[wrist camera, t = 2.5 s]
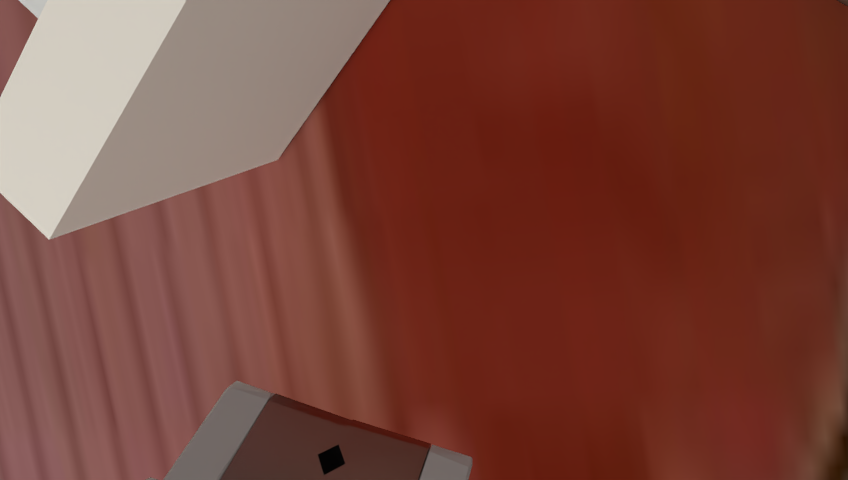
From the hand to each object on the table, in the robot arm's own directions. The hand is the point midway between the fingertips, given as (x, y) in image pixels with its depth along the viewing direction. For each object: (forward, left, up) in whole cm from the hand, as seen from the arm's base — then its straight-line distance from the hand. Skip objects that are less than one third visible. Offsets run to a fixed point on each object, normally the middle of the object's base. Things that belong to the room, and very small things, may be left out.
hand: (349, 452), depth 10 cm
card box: (+12, +5, -24) cm, 28 cm away
